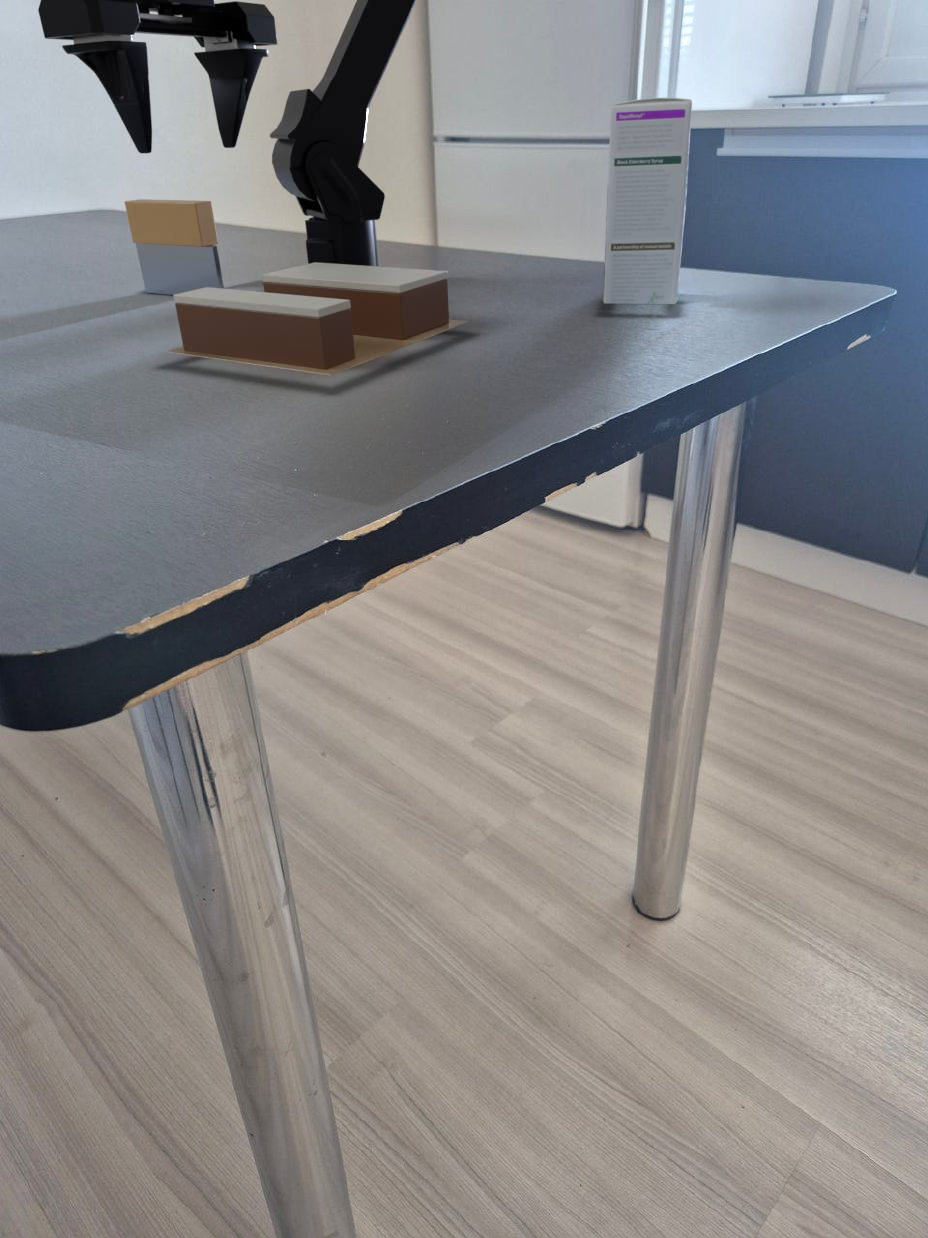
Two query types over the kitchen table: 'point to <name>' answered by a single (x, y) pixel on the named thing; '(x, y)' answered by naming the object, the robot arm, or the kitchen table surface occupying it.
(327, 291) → the cake
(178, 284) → the scraper
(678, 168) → the syrup box
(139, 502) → the kitchen table surface
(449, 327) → the cake board
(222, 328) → the cake slice
